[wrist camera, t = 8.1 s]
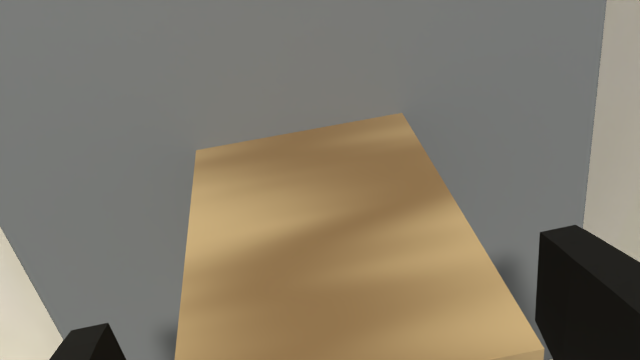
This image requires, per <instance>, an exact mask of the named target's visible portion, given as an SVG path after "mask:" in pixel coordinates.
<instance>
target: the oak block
mask: <svg viewBox="0 0 640 360" xmlns="http://www.w3.org/2000/svg"><path fill="white" fill-rule="evenodd" d="M543 359H544V347H543V345H542V344H541V342H540V340H539V339H538V337H537V336H536V334H535V332H534V331H533V329H532V327H531V326H530V324H529V322H528V321H527V319H526V317H525V316H524V314H523V312H522V311H521V309H520V307H519V306H518V304H517V302H516V301H515V299H514V297H513V296H512V294H511V292H510V291H509V289H508V287H507V286H506V284H505V282H504V281H503V279H502V278H501V276H500V274H499V273H498V271H497V269H496V268H495V266H494V264H493V263H492V261H491V259H490V258H489V256H488V254H487V253H486V251H485V249H484V248H483V246H482V244H481V243H480V241H479V239H478V238H477V236H476V234H475V233H474V231H473V229H472V228H471V226H470V224H469V223H468V221H467V220H466V218H465V216H464V215H463V213H462V211H461V210H460V208H459V206H458V205H457V203H456V201H455V200H454V198H453V196H452V195H451V193H450V191H449V190H448V188H447V186H446V185H445V183H444V181H443V180H442V178H441V176H440V175H439V173H438V171H437V170H436V168H435V166H434V165H433V163H432V162H431V160H430V158H429V157H428V155H427V153H426V152H425V150H424V148H423V147H422V145H421V143H420V142H419V140H418V138H417V137H416V135H415V133H414V132H413V130H412V128H411V127H410V125H409V123H408V122H407V120H406V118H405V117H404V115H403V113H398V114H393V115H387V116H382V117H376V118H371V119H365V120H360V121H354V122H349V123H343V124H338V125H332V126H327V127H321V128H316V129H310V130H305V131H299V132H294V133H288V134H283V135H277V136H272V137H266V138H261V139H255V140H250V141H244V142H239V143H233V144H228V145H222V146H217V147H211V148H206V149H200V150H196V156H195V166H194V175H193V185H192V195H191V204H190V214H189V224H188V234H187V243H186V253H185V263H184V272H183V282H182V292H181V302H180V311H179V321H178V331H177V340H176V350H175V360H543Z"/></svg>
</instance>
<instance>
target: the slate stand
mask: <svg viewBox="0 0 640 360" xmlns="http://www.w3.org/2000/svg"><path fill="white" fill-rule="evenodd" d="M606 1H607V0H0V227H1V229H2V230H3V232H4V234H5V236H6V238H7V239H8V241H9V243H10V245H11V247H12V248H13V250H14V252H15V254H16V256H17V257H18V259H19V261H20V263H21V265H22V266H23V268H24V270H25V272H26V273H27V275H28V277H29V279H30V281H31V282H32V284H33V286H34V288H35V290H36V291H37V293H38V295H39V297H40V299H41V300H42V302H43V304H44V306H45V308H46V309H47V311H48V313H49V315H50V317H51V318H52V320H53V322H54V324H55V325H56V327H57V329H58V331H59V333H60V334H61V336H62V338H63V340H64V339H65V338H66V336H67V335H68V334H69V332H70V331H71V330H75V329H80V328H85V327H90V326H94V325H99V324H104V323H109V325H110V327H111V329H112V331H113V333H114V335H115V337H116V339H117V341H118V344H119V346H120V348H121V350H122V352H123V354H124V356H125V358H126V360H175V350H176V340H177V331H178V321H179V311H180V302H181V292H182V282H183V272H184V263H185V253H186V243H187V234H188V224H189V214H190V204H191V195H192V185H193V175H194V166H195V156H196V150H200V149H206V148H211V147H217V146H222V145H228V144H233V143H239V142H244V141H250V140H255V139H261V138H266V137H272V136H277V135H283V134H288V133H294V132H299V131H305V130H310V129H316V128H321V127H327V126H332V125H338V124H343V123H349V122H354V121H360V120H365V119H371V118H376V117H382V116H387V115H393V114H398V113H403V115H404V117H405V118H406V120H407V122H408V123H409V125H410V127H411V128H412V130H413V132H414V133H415V135H416V137H417V138H418V140H419V142H420V143H421V145H422V147H423V148H424V150H425V152H426V153H427V155H428V157H429V158H430V160H431V162H432V163H433V165H434V166H435V168H436V170H437V171H438V173H439V175H440V176H441V178H442V180H443V181H444V183H445V185H446V186H447V188H448V190H449V191H450V193H451V195H452V196H453V198H454V200H455V201H456V203H457V205H458V206H459V208H460V210H461V211H462V213H463V215H464V216H465V218H466V220H467V221H468V223H469V224H470V226H471V228H472V229H473V231H474V233H475V234H476V236H477V238H478V239H479V241H480V243H481V244H482V246H483V248H484V249H485V251H486V253H487V254H488V256H489V258H490V259H491V261H492V263H493V264H494V266H495V268H496V269H497V271H498V273H499V274H500V276H501V278H502V279H503V281H504V282H505V284H506V286H507V287H508V289H509V291H510V292H511V294H512V296H513V297H514V299H515V301H516V302H517V304H518V306H519V307H520V309H521V311H522V312H523V314H524V316H525V317H526V319H527V321H528V322H529V324H530V326H531V327H532V329H533V331H534V332H535V334H536V336H537V337H538V339H539V340H540V342H541V344H542V345H543V347H544V359H543V360H549V359H553V358H552V356H551V354H550V352H549V350H548V348H547V346H546V343H545V341H544V339H543V337H542V335H541V333H540V330H539V328H538V326H537V324H536V322H535V309H536V291H537V273H538V255H539V238H540V232H543V231H548V230H553V229H557V228H562V227H567V226H572V225H577V226H579V227H581V228H582V229H583V221H584V211H585V201H586V192H587V182H588V173H589V163H590V154H591V144H592V135H593V125H594V115H595V106H596V96H597V87H598V77H599V68H600V58H601V49H602V39H603V29H604V20H605V10H606Z"/></svg>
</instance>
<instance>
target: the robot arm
mask: <svg viewBox="0 0 640 360" xmlns="http://www.w3.org/2000/svg"><path fill="white" fill-rule="evenodd" d="M535 322H536V324H537V326H538V328H539V330H540V333H541V335H542V337H543V339H544V341H545V343H546V346H547V348H548V350H549V352H550V354H551V356H552V358H553V360H640V262H638V261H637V260H635V259H633V258H631V257H630V256H628V255H626V254H625V253H623V252H621V251H620V250H618V249H616V248H615V247H613V246H611V245H610V244H608V243H606V242H605V241H603V240H601V239H600V238H598V237H596V236H595V235H593V234H591V233H589V232H588V231H586V230H584V229H582V228H581V227H579V226H577V225H572V226H567V227H562V228H557V229H553V230H548V231H543V232H540V238H539V255H538V273H537V291H536V309H535ZM50 360H126V358H125V356H124V354H123V352H122V350H121V348H120V346H119V344H118V341H117V339H116V337H115V335H114V333H113V331H112V329H111V327H110V325H109V323H104V324H99V325H94V326H90V327H85V328H80V329H75V330H71V331H70V332H69V334H68V335H67V336H66V338H65V339H64V340H63V342H62V343H61V344H60V346H59V347H58V349H57V350H56V351H55V353H54V354H53V355H52V357H51V358H50Z"/></svg>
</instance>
